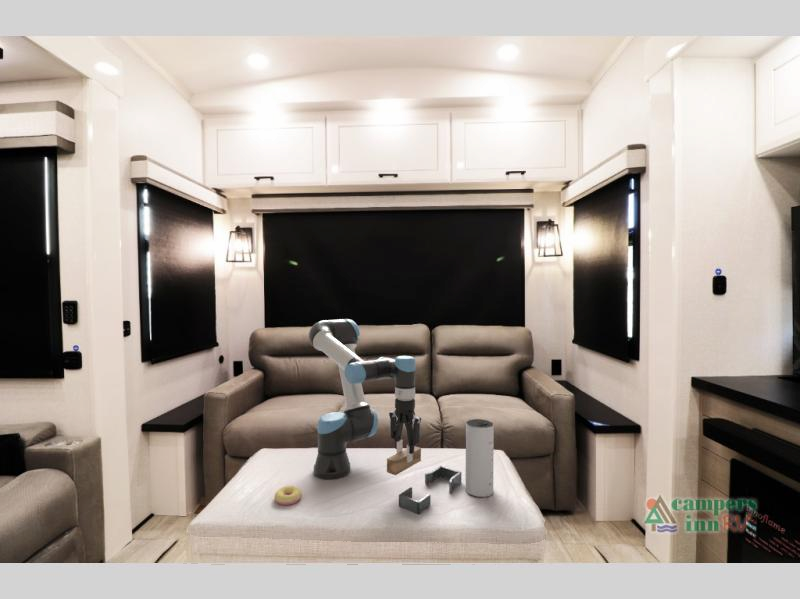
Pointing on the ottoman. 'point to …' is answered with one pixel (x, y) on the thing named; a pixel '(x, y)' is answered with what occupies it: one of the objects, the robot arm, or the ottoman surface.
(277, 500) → the donut
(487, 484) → the speaker
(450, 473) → the cap
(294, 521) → the ottoman surface
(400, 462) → the slat
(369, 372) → the robot arm
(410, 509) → the cap
